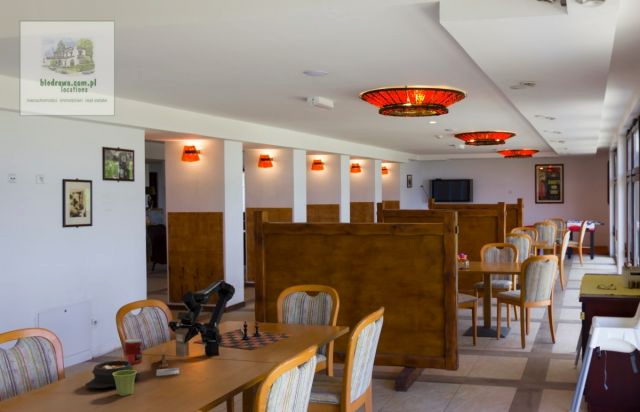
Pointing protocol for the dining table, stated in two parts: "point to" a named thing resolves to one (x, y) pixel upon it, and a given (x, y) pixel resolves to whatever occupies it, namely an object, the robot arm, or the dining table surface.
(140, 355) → the canned food
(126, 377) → the plant pot
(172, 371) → the felt mat
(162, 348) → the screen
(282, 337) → the chessboard
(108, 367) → the casserole
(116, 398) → the dining table surface
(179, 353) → the plain brown block
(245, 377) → the dining table surface
